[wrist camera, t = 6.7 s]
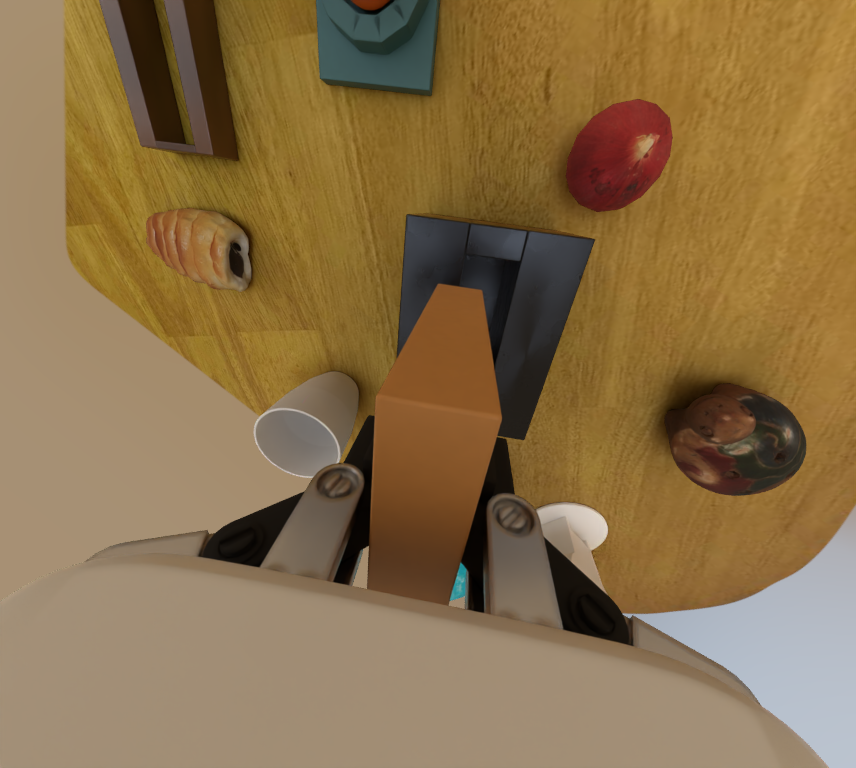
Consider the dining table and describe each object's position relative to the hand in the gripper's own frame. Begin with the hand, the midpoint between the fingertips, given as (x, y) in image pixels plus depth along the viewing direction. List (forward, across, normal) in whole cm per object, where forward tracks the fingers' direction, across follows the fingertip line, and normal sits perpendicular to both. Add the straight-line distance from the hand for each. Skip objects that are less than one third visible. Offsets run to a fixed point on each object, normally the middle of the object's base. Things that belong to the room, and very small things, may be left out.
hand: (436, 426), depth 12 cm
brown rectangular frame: (+20, +23, -14) cm, 34 cm away
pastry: (+21, +24, -1) cm, 32 cm away
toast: (+5, 0, 0) cm, 5 cm away
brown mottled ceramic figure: (+21, -28, +9) cm, 36 cm away
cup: (+21, +12, +13) cm, 27 cm away
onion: (+21, -9, -11) cm, 25 cm away
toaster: (+21, -2, +1) cm, 21 cm away
